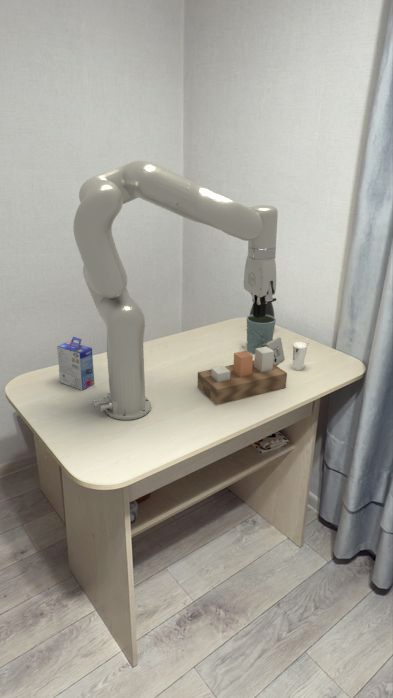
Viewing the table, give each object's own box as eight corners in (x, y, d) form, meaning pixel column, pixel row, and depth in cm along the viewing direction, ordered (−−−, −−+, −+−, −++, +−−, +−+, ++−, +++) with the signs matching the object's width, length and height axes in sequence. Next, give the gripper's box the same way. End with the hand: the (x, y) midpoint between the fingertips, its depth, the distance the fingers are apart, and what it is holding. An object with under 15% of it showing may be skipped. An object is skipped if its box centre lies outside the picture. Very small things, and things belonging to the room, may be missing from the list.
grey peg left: (217, 393, 136) (218, 373, 134) (211, 388, 140) (211, 368, 137) (229, 391, 138) (230, 371, 136) (222, 385, 141) (223, 365, 139)
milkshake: (301, 373, 152) (304, 344, 148) (287, 367, 155) (290, 339, 151) (309, 369, 154) (312, 341, 150) (296, 364, 158) (299, 336, 154)
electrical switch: (272, 368, 155) (272, 344, 152) (260, 365, 158) (260, 342, 155) (284, 360, 161) (284, 337, 158) (273, 357, 164) (272, 335, 161)
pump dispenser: (268, 337, 180) (271, 299, 173) (243, 332, 184) (245, 295, 178) (278, 329, 188) (281, 293, 182) (254, 324, 192) (256, 288, 186)
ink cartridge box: (96, 383, 143) (92, 340, 138) (83, 391, 139) (78, 346, 133) (72, 375, 148) (68, 333, 142) (59, 382, 144) (54, 339, 138)
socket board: (216, 405, 133) (217, 389, 131) (197, 387, 142) (197, 372, 140) (285, 387, 143) (287, 373, 141) (263, 371, 152) (264, 357, 150)
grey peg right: (261, 373, 141) (262, 353, 139) (254, 368, 145) (255, 348, 142) (272, 370, 143) (274, 351, 140) (264, 365, 146) (266, 346, 144)
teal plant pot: (243, 353, 166) (245, 321, 161) (246, 342, 175) (248, 312, 170) (272, 356, 164) (274, 324, 159) (274, 345, 173) (276, 314, 168)
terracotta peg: (240, 378, 138) (241, 358, 136) (233, 372, 141) (234, 353, 139) (251, 375, 140) (252, 355, 137) (244, 370, 143) (245, 350, 140)
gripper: (235, 249, 133) (234, 310, 140) (265, 260, 120) (262, 326, 128) (258, 246, 136) (255, 306, 143) (289, 256, 123) (285, 322, 131)
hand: (259, 316), depth 135 cm, fingers closed
